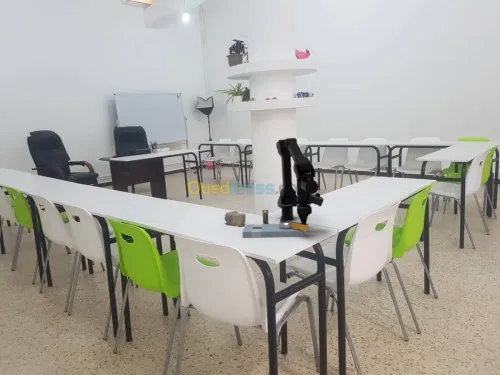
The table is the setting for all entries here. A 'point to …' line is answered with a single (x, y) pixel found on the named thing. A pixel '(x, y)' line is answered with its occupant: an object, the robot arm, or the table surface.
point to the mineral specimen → (235, 218)
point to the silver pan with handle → (293, 225)
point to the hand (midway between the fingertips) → (304, 223)
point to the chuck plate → (269, 231)
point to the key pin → (265, 216)
